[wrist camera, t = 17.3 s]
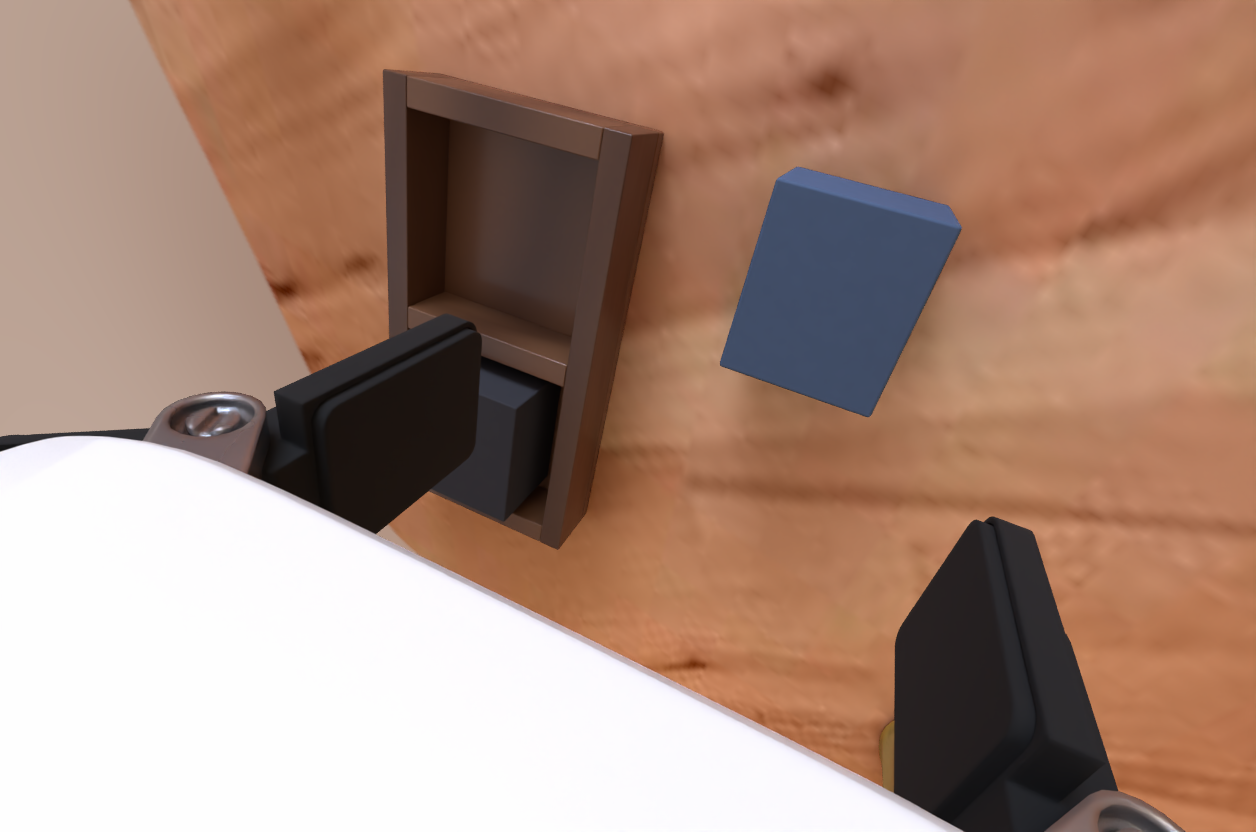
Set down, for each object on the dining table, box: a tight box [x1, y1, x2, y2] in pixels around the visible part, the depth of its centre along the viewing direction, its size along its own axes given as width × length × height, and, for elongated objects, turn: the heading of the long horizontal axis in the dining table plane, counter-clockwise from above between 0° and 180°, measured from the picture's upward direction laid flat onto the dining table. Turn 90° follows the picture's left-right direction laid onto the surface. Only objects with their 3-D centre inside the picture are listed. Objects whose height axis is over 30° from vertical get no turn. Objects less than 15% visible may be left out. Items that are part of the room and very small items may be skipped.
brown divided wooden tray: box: [383, 69, 663, 550], centre depth 25 cm, size 10×18×3 cm, turn 167°
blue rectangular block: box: [720, 167, 962, 417], centre depth 19 cm, size 5×6×4 cm
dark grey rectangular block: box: [432, 356, 561, 522], centre depth 26 cm, size 5×6×4 cm
